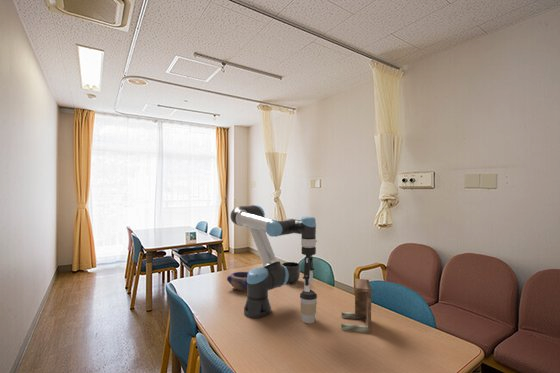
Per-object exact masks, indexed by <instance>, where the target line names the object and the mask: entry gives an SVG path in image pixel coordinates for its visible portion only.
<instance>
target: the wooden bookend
mask: <svg viewBox="0 0 560 373" xmlns="http://www.w3.org/2000/svg"><path fill="white" fill-rule="evenodd" d="M341 318H342V319H343V318H345V319H353V320H362V321H363V320H364V321H365V324H366V325H360V324H359V325H358V324H349V323H341V324H340V326H341V327H340V330H342V331H350V332H357V333H358V332H359V333H366V334H367V333H368V334H372V287H371V284H370V279H365V278H364V279H363V278H355V279H354V312H346V311H341Z"/></svg>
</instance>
